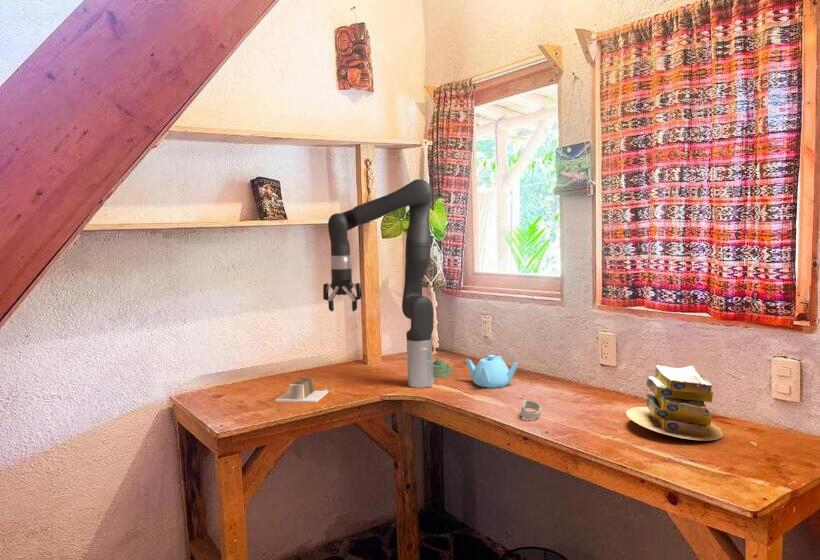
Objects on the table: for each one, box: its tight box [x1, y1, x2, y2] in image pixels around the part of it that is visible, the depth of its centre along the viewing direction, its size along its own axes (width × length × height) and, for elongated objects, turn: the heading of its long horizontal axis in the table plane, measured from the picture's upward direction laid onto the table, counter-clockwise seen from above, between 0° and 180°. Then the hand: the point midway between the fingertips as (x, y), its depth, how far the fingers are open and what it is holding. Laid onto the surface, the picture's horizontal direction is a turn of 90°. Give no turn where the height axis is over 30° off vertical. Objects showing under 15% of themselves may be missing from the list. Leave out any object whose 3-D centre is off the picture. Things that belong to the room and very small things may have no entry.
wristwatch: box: [519, 399, 543, 420], centre depth 187 cm, size 9×6×5 cm
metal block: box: [288, 377, 315, 399], centre depth 217 cm, size 5×5×10 cm
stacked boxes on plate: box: [625, 364, 724, 442], centre depth 170 cm, size 25×25×17 cm
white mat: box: [274, 390, 329, 404], centre depth 217 cm, size 15×13×1 cm
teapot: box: [465, 354, 519, 389], centre depth 225 cm, size 15×15×11 cm
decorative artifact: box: [433, 357, 453, 379], centre depth 243 cm, size 10×7×10 cm
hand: (343, 311), depth 229 cm, fingers open, 8 cm apart
